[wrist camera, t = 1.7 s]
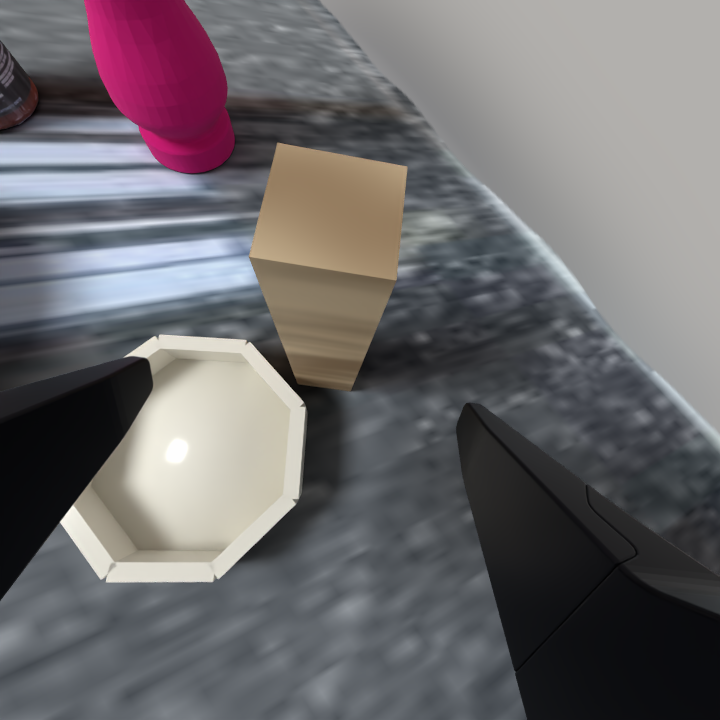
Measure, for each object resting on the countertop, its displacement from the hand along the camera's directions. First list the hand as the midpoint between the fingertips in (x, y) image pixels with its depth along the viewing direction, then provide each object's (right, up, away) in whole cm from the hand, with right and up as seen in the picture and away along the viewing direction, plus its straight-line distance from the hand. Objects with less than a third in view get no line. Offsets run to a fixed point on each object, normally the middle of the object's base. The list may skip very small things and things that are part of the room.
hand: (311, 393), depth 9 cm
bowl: (-8, -4, +10) cm, 13 cm away
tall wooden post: (-1, +1, +12) cm, 12 cm away
